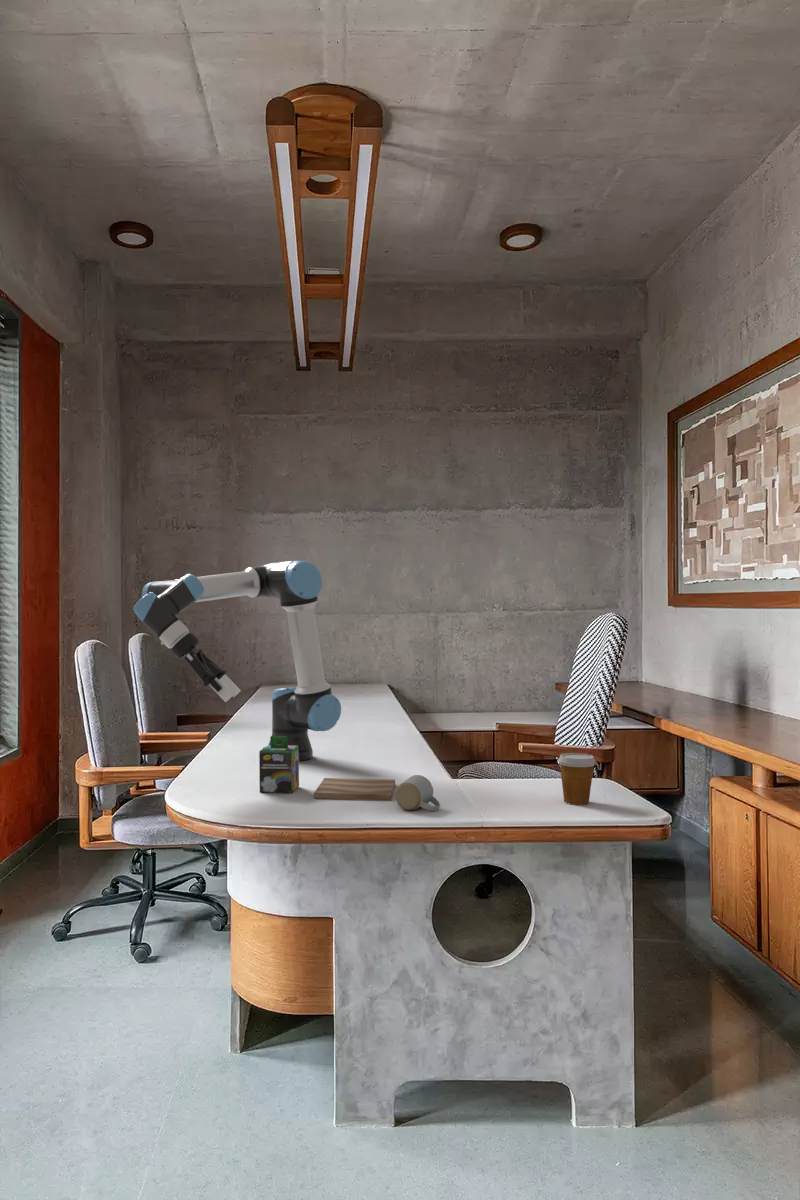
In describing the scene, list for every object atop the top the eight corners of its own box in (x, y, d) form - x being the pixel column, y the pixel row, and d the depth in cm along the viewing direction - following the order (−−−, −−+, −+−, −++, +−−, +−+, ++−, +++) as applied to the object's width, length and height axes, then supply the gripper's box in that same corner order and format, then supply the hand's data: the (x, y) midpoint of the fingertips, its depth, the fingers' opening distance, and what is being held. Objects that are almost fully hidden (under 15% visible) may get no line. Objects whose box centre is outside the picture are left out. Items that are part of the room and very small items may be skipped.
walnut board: (324, 783, 252) (324, 777, 252) (395, 784, 251) (395, 779, 251) (313, 798, 232) (314, 792, 232) (390, 800, 231) (390, 794, 231)
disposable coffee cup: (598, 806, 226) (599, 759, 226) (560, 806, 226) (561, 758, 226) (591, 798, 236) (591, 753, 236) (555, 798, 236) (555, 752, 236)
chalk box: (299, 787, 246) (300, 733, 246) (292, 794, 237) (292, 738, 237) (266, 785, 247) (267, 732, 247) (258, 792, 238) (258, 737, 238)
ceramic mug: (392, 809, 220) (393, 778, 220) (405, 803, 228) (406, 773, 228) (432, 815, 216) (433, 783, 216) (444, 808, 223) (445, 777, 223)
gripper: (180, 648, 258) (230, 701, 258) (159, 652, 233) (215, 710, 233) (199, 630, 258) (249, 683, 258) (180, 632, 233) (236, 690, 233)
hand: (233, 696), depth 245 cm, fingers open, 13 cm apart
